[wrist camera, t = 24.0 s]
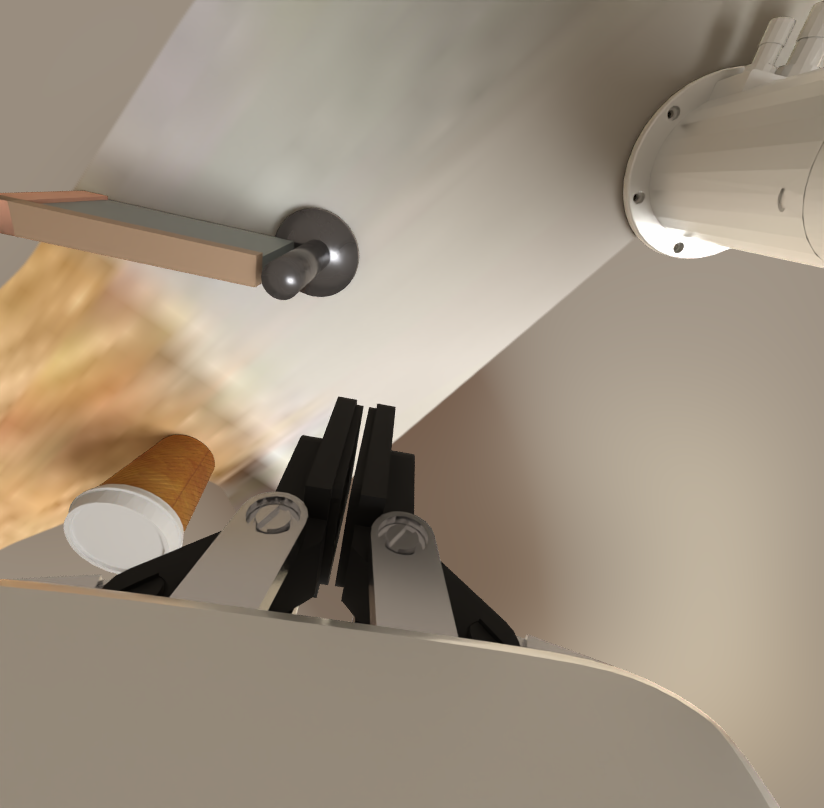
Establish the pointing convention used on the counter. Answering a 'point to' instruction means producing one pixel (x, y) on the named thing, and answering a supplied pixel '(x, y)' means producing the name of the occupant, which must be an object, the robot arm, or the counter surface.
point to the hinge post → (312, 256)
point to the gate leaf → (140, 234)
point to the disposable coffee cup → (141, 506)
